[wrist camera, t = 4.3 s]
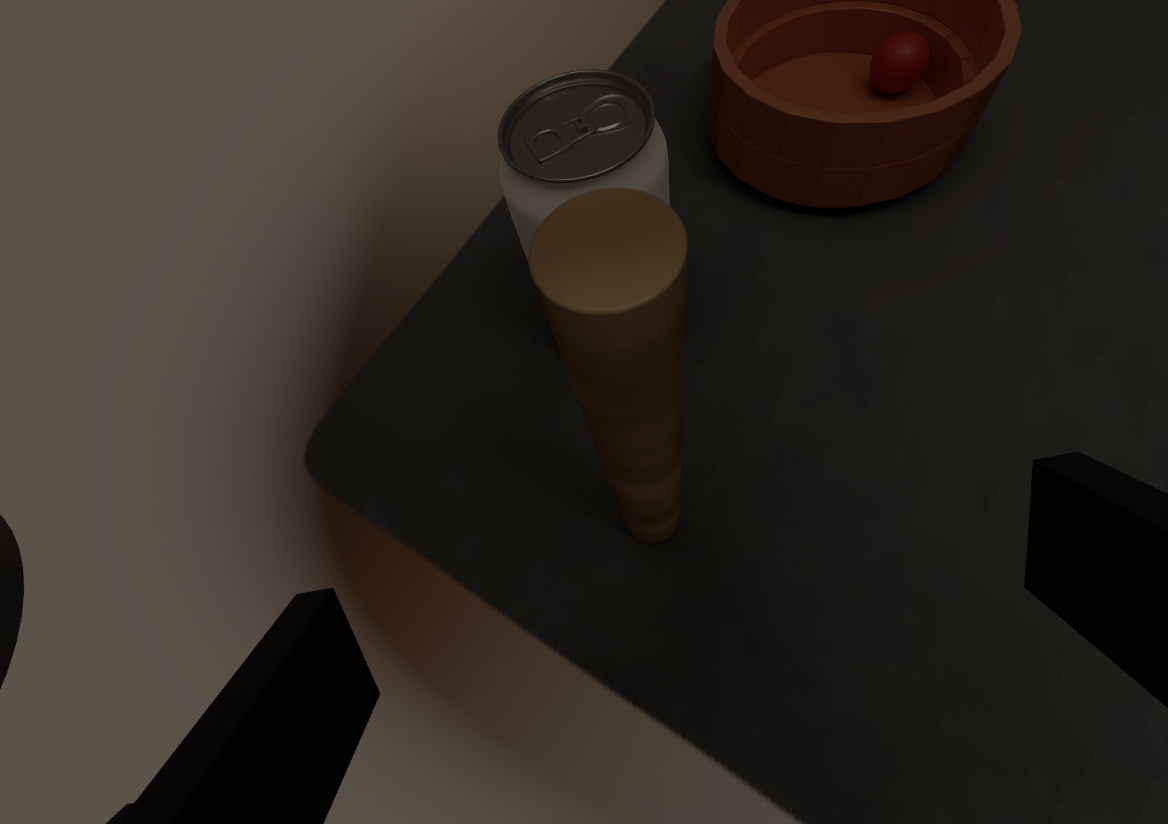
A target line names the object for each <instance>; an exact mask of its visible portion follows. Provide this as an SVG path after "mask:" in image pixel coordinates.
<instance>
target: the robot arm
mask: <svg viewBox="0 0 1168 824" xmlns="http://www.w3.org/2000/svg"><path fill="white" fill-rule="evenodd" d="M1024 587H1025V588H1026V589H1027V590H1028V591H1030V592H1031V593H1032V594H1033V595H1034V596H1036V597H1037V598H1038V599H1039V600H1040V601H1041V602H1043V603H1044V604H1045V605H1046V606H1047V607H1049V608H1050V609H1051V610H1052V611H1053V612H1055V613H1056V614H1057V615H1058V616H1059V617H1060V618H1062V619H1063V620H1064V621H1065V622H1066V623H1068V624H1069V625H1070V626H1071V627H1072V628H1074V629H1075V630H1076V631H1077V632H1078V633H1079V634H1081V635H1082V636H1083V637H1084V638H1085V639H1087V640H1088V641H1089V642H1090V643H1091V644H1093V645H1094V646H1095V647H1096V648H1097V649H1098V650H1100V651H1101V652H1102V653H1103V654H1104V655H1106V656H1107V657H1108V658H1109V659H1110V660H1112V661H1113V662H1114V663H1115V664H1116V665H1117V666H1119V667H1120V668H1121V669H1122V670H1123V671H1125V672H1126V673H1127V674H1128V675H1129V676H1131V677H1132V678H1133V679H1134V680H1135V681H1136V682H1138V683H1139V684H1140V685H1141V686H1142V687H1144V688H1145V689H1146V690H1147V691H1148V692H1150V693H1151V694H1152V695H1153V696H1154V697H1155V698H1157V699H1158V700H1159V701H1160V702H1161V703H1163V704H1164V705H1165V706H1166V707H1167V708H1168V494H1167V493H1165V492H1163V491H1161V490H1159V489H1156V488H1154V487H1152V486H1150V485H1148V484H1146V483H1144V482H1142V481H1139V480H1137V479H1135V478H1133V477H1131V476H1129V475H1127V474H1125V473H1123V472H1120V471H1118V470H1116V469H1114V468H1112V467H1110V466H1108V465H1106V464H1104V463H1101V462H1099V461H1097V460H1095V459H1093V458H1091V457H1089V456H1087V455H1085V454H1082V453H1080V452H1074V453H1068V454H1063V455H1057V456H1052V457H1046V458H1041V459H1035V460H1033V469H1032V484H1031V498H1030V513H1029V527H1028V542H1027V557H1026V571H1025V586H1024ZM379 695H380V692H379V690H378V687H377V686H376V683H375V681H374V679H373V676H372V674H371V672H370V670H369V667H368V665H367V663H366V660H365V658H364V656H363V654H362V651H361V649H360V647H359V645H358V643H357V640H356V638H355V636H354V634H353V631H352V629H351V627H350V624H349V622H348V620H347V618H346V615H345V613H344V611H343V609H342V606H341V605H340V602H339V600H338V598H337V595H336V593H335V591H334V589H333V588H328V589H323V590H317V591H312V592H306V593H301V594H296V595H295V597H294V598H293V599H292V601H291V602H290V603H289V604H288V606H287V607H286V608H285V610H284V611H283V612H282V614H281V615H280V616H279V617H278V619H277V620H276V621H275V622H274V624H273V625H272V626H271V628H270V629H269V630H268V631H267V633H266V634H265V635H264V637H263V638H262V639H261V641H260V642H259V643H258V644H257V646H256V647H255V648H254V649H253V651H252V652H251V654H250V655H249V656H248V657H247V659H246V660H245V661H244V662H243V664H242V665H241V666H240V668H239V669H238V670H237V671H236V673H235V674H234V675H233V676H232V678H231V679H230V680H229V682H228V683H227V684H226V686H225V687H224V688H223V689H222V691H221V692H220V693H219V695H218V696H217V697H216V698H215V700H214V701H213V702H212V704H211V705H210V706H209V707H208V709H207V710H206V711H205V713H204V714H203V715H202V716H201V718H200V719H199V720H198V722H197V723H196V724H195V725H194V727H193V728H192V730H191V731H190V732H189V733H188V735H187V736H186V737H185V738H184V740H183V741H182V742H181V744H180V745H179V746H178V747H177V749H176V750H175V751H174V752H173V754H172V755H171V756H170V758H169V759H168V760H167V761H166V763H165V764H164V766H163V767H162V768H161V769H160V771H159V772H158V773H157V774H156V776H155V777H154V778H153V780H152V781H151V782H150V783H149V785H148V786H147V787H146V789H145V790H144V791H143V792H142V794H141V795H140V796H139V798H138V799H137V800H136V801H135V803H131V804H126V805H125V807H123V808H122V809H121V810H120V811H119V812H118V813H117V814H116V815H115V816H114V817H112V818H111V819H110V820H109V821H108V822H107V823H106V824H324V821H325V819H326V817H327V814H328V812H329V810H330V808H331V805H332V803H333V801H334V798H335V796H336V794H337V792H338V789H339V787H340V785H341V782H342V780H343V778H344V775H345V773H346V771H347V769H348V766H349V764H350V761H351V760H352V757H353V754H354V753H355V750H356V748H357V746H358V743H359V741H360V739H361V737H362V734H363V732H364V729H365V727H366V725H367V723H368V721H369V718H370V716H371V714H372V711H373V709H374V707H375V705H376V702H377V700H378V698H379Z"/></svg>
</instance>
